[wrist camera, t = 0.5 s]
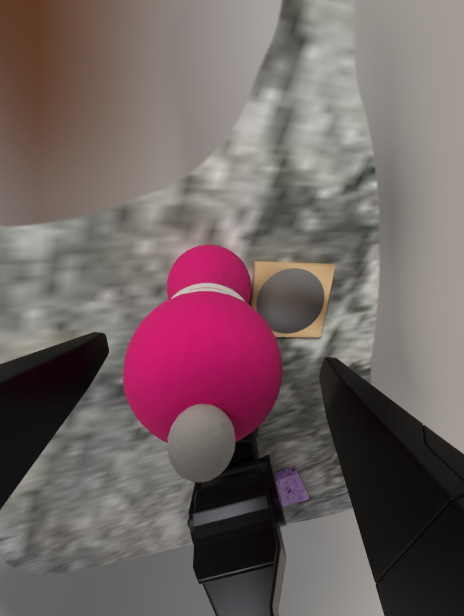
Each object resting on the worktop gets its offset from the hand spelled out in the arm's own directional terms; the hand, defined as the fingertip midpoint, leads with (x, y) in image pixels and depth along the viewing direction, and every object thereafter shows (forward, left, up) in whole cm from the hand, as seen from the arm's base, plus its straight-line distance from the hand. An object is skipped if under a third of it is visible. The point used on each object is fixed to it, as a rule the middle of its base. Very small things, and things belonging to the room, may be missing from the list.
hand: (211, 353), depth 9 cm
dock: (-3, -9, -16) cm, 18 cm away
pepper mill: (0, 0, -16) cm, 16 cm away
